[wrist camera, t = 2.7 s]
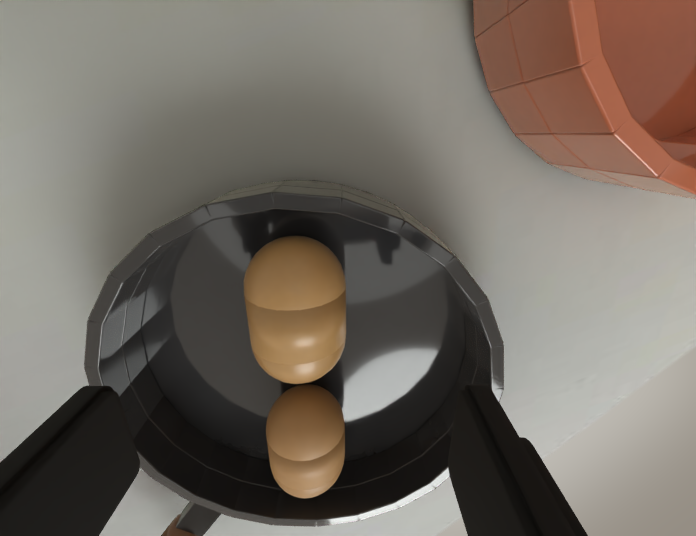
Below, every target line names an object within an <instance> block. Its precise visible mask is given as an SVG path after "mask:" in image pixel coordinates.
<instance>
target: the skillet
mask: <svg viewBox="0 0 696 536" xmlns="http://www.w3.org/2000/svg"><path fill="white" fill-rule="evenodd" d="M286 236H305V237H309V238H312V239H314V240H317V241H319V242H321V243H322V244H324V245H325V246H326V247H328V248H329V249H330V250H331V251H332V252H333V253H334V254H335V256H336V257H337V259H338V260H339V262H340V264H341V266H342V269H343V272H344V275H345V283H346V339H345V347H344V349H343V352H342V355H341V357H340V359H339V360H338V362H337V363H336V365H335V366H334V367H333V368H332V369H331V370H330V371H329V372H328V373H326V374H325V375H324V376H322V377H321V378H319V379H317V380H314V381H312V382H308V383H302V384H290V383H285V382H282V381H280V380H277V379H275V378H273V377H272V376H270V375H269V374H268V373H267V372H266V371H265V370H263V368H262V367H261V366H260V365H259V363H258V362H257V360H256V358H255V356H254V354H253V351H252V347H251V341H250V334H249V327H248V319H247V312H246V305H245V298H244V277H245V272H246V270H247V268H248V265H249V263H250V261H251V259H252V258H253V257H254V255H255V254H256V253H257V252H258V251H259V250H260V249H261V248H262V247H263V246H265V245H266V244H268V243H269V242H271V241H273V240H275V239H278V238H281V237H286ZM84 366H85V367H84V368H85V371H86V375H87V379H88V383H89V386H110V387H112V388H113V390H114V391H115V392H117V393H118V395H119V398H120V401H121V404H122V407H123V410H124V413H125V416H126V419H127V422H128V426H129V429H130V432H131V435H132V438H133V441H134V444H135V447H136V450H137V453H138V456H139V459H140V467H141V468H142V469H143V470H144V471H145V472H146V473H147V474H148V475H149V476H150V477H152V478H153V479H154V480H156V481H157V482H159V483H161V484H162V485H164V486H166V487H167V488H169V489H170V490H172V491H174V492H175V493H177V494H178V495H180V496H182V497H183V498H185V499H187V500H190V502H193V503H196V504H198V505H201V506H203V507H206V508H209V509H211V510H214V511H216V512H219V513H222V514H224V515H227V516H231V517H234V518H239V519H244V520H249V521H254V522H259V523H264V524H269V525H273V524H274V525H280V526H314V527H316V526H325V525H332V524H340V523H347V522H355V521H359V520H363V519H367V518H370V517H373V516H376V515H379V514H382V513H385V512H389V511H392V510H395V509H398V508H401V507H403V506H404V505H406V504H408V503H410V502H412V501H414V500H416V499H417V498H419V497H421V496H423V495H425V494H427V493H428V492H430V491H432V490H434V489H436V487H438V486H439V485H440V484H441V483H443V482H444V481H445V480H446V479H447V478H448V477H450V474H449V469H448V457H449V450H450V443H451V436H452V430H453V423H454V416H455V409H456V403H457V396H458V392H459V391H460V390H464V388H465V386H466V385H488V386H489V387H490V388H491V389H492V391H493V393H494V394H495V396H496V398H497V400H498V401H499V402H500V399H501V396H502V393H503V390H504V388H503V387H504V345H503V340H502V337H501V334H500V331H499V329H498V326H497V323H496V320H495V317H494V314H493V311H492V308H491V305H490V302H489V300H488V299H487V296H486V295H485V294H484V292H483V291H482V290H481V288H480V287H479V286H478V284H477V283H476V282H475V281H474V279H473V278H472V277H471V275H470V274H469V273H468V271H467V270H466V269H465V267H464V266H463V265H462V264H461V262H460V261H459V260H458V258H457V257H456V256H455V255H454V254H453V253H452V252H451V251H450V250H449V248H448V247H447V246H446V245H445V244H444V243H443V242H442V241H441V240H440V239H439V238H438V237H437V236H436V235H435V234H434V233H433V232H432V231H431V230H429V229H428V228H427V227H425V226H424V225H422V224H421V223H420V222H419V221H417V220H416V219H415V218H414V217H413V216H411V215H410V214H408V213H407V212H405V211H404V210H402V209H400V208H399V207H397V206H396V205H395V204H392V203H391V202H389V201H386V200H384V199H382V198H380V197H377V196H375V195H373V194H371V193H368V192H366V191H362V190H359V189H355V188H352V187H349V186H345V185H342V184H335V183H329V182H322V181H315V180H284V181H277V182H268V183H261V184H258V185H254V186H250V187H246V188H242V189H236V190H233V191H230V192H228V193H226V194H224V195H222V196H220V197H218V198H216V199H214V200H212V201H210V202H208V203H207V204H205V205H203V206H201V207H199V208H197V209H195V210H193V211H191V212H189V213H187V214H185V215H183V216H181V217H179V218H177V219H175V220H173V221H171V222H169V223H167V224H165V225H163V226H162V227H160V228H158V229H156V230H154V231H152V232H151V233H149V234H148V235H147V236H146V237H145V238H144V239H143V240H142V241H141V242H140V243H139V244H138V245H137V246H136V247H135V248H134V249H133V250H132V251H131V252H130V253H129V254H128V255H127V256H126V257H125V258H124V259H123V260H122V261H121V262H120V263H119V264H118V265H117V266H116V267H115V268H114V269H113V270H112V271H111V272H110V274H109V275H108V277H107V279H106V281H105V283H104V286H103V288H102V290H101V292H100V294H99V296H98V299H97V301H96V303H95V305H94V307H93V309H92V312H91V314H90V316H89V318H88V321H87V335H86V348H85V362H84ZM304 384H312V385H317V386H320V387H322V388H324V389H326V390H328V391H329V392H330V393H331V394H332V395H333V396H334V397H335V398H336V400H337V401H338V402H339V404H340V407H341V409H342V412H343V416H344V423H345V457H344V464H343V467H342V471H341V473H340V475H339V477H338V479H337V480H336V482H335V483H334V484H333V485H332V486H331V487H330V488H329V489H328V490H327V491H325V492H324V493H322V494H320V495H319V496H316V497H313V498H298V497H295V496H292V495H290V494H288V493H287V492H285V491H284V490H283V489H282V488H281V487H280V486H279V485H278V483H277V482H276V480H275V479H274V476H273V474H272V471H271V467H270V460H269V453H268V445H267V438H266V423H267V418H268V415H269V412H270V409H271V408H272V406H273V404H274V403H275V401H276V400H277V399H278V398H279V397H280V396H281V395H282V394H283V393H284V392H285V391H287V390H288V389H290V388H292V387H295V386H298V385H304Z"/></svg>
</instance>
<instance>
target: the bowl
mask: <svg viewBox="0 0 696 536" xmlns="http://www.w3.org/2000/svg"><path fill="white" fill-rule="evenodd" d="M473 11H474V37H475V42H476V45H477V49H478V53H479V57H480V60H481V64H482V68H483V71H484V75H485V79H486V83H487V86H488V90H489V92H490V95H491V96H492V98H493V100H494V101H495V103H496V105H497V106H498V108H499V110H500V111H501V113H502V115H503V117H504V118H505V120H506V122H507V123H508V125H509V127H510V128H511V130H512V132H513V133H515V135H516V136H517V137H518V138H519V139H520V140H521V141H522V142H523V143H525V144H526V145H527V146H528V147H529V148H530V149H531V150H533V151H534V152H535V153H536V154H537V155H538V156H539V157H541V158H542V159H543V160H544V161H545V162H547V163H548V164H550V165H552V166H555V167H557V168H560V169H562V170H564V171H567V172H569V173H572V174H574V175H577V176H579V177H581V178H584V179H588V180H594V181H599V182H605V183H610V184H616V185H621V186H627V187H632V188H639V189H643V190H649V191H654V192H660V193H665V194H671V195H676V196H682V197H687V198H693V199H696V0H473Z"/></svg>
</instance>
